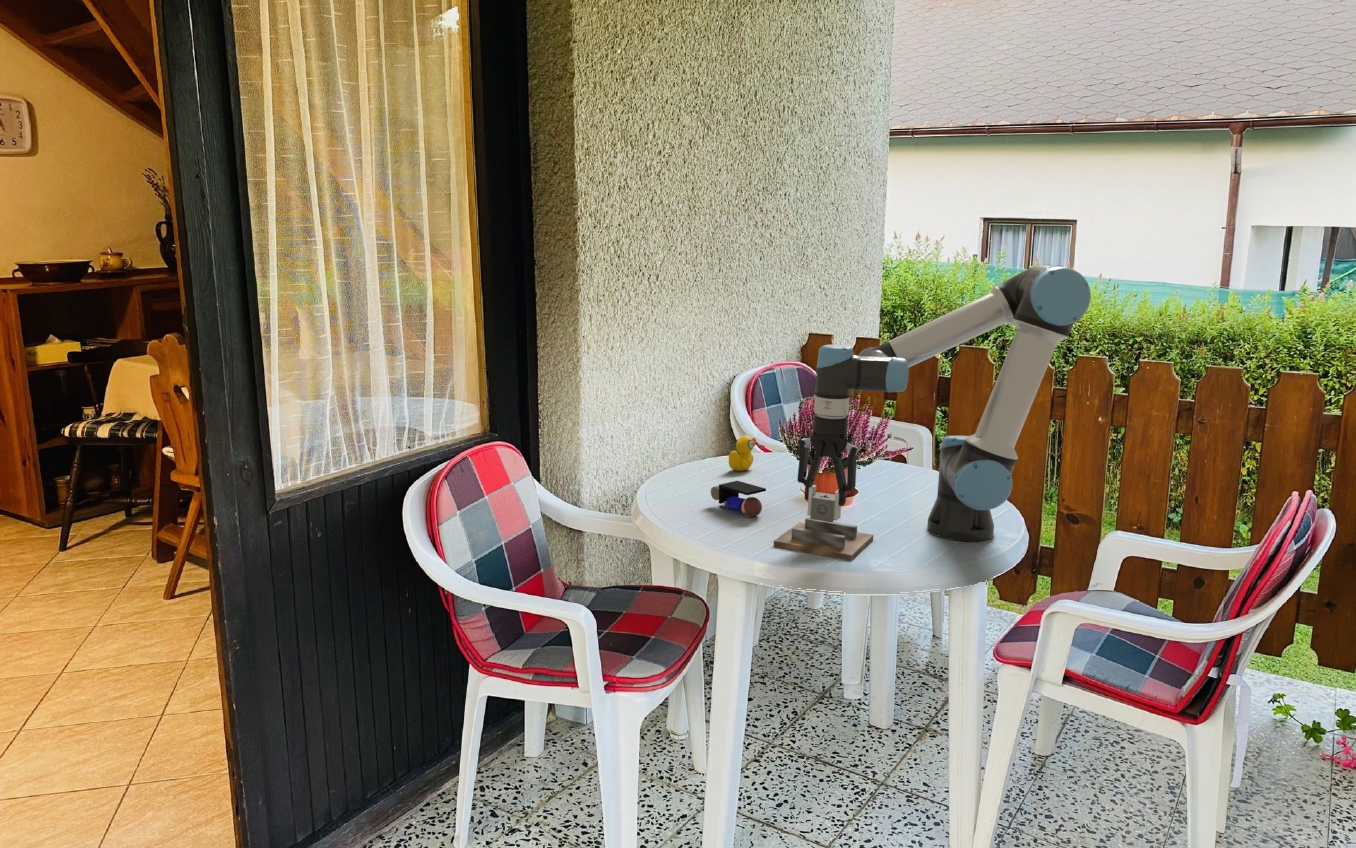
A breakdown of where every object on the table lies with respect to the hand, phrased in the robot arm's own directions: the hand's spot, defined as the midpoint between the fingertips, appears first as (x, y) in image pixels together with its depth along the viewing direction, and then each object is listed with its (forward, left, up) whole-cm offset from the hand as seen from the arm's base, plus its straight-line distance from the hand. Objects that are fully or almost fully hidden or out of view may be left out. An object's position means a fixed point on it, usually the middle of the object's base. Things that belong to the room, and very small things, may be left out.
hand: (823, 516), depth 211 cm
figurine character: (+27, -12, -7) cm, 30 cm away
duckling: (+43, -50, -7) cm, 66 cm away
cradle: (0, 0, -6) cm, 6 cm away
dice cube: (0, 0, -1) cm, 1 cm away
